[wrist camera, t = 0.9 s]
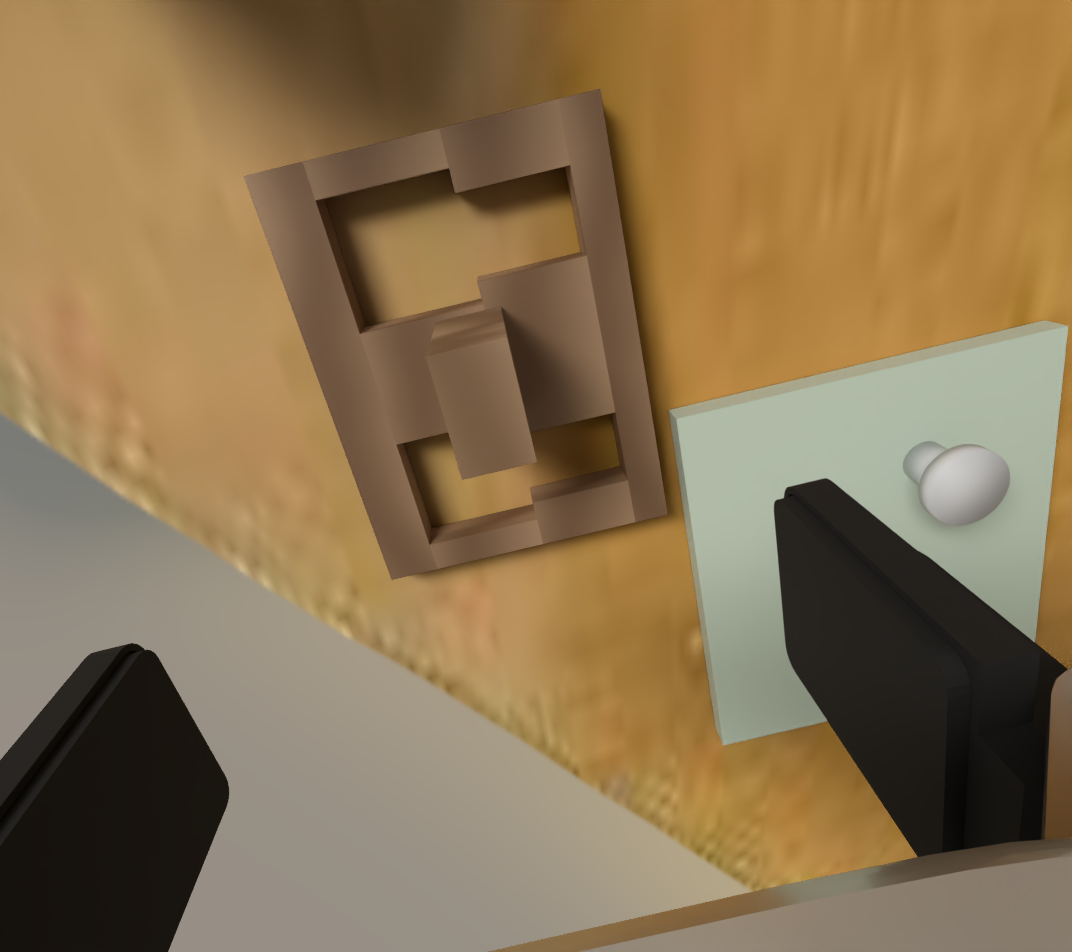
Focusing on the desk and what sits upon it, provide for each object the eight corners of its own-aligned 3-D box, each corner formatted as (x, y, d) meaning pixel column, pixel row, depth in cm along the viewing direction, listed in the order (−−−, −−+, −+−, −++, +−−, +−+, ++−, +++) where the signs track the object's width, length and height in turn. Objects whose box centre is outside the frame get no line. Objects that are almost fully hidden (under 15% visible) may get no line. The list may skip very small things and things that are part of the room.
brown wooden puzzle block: (592, 94, 23) (637, 58, 17) (658, 499, 30) (709, 585, 23) (257, 176, 23) (174, 172, 17) (395, 561, 30) (373, 664, 23)
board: (1044, 320, 28) (1133, 341, 24) (1014, 658, 35) (1079, 715, 31) (668, 410, 28) (698, 444, 24) (715, 728, 35) (744, 792, 31)
